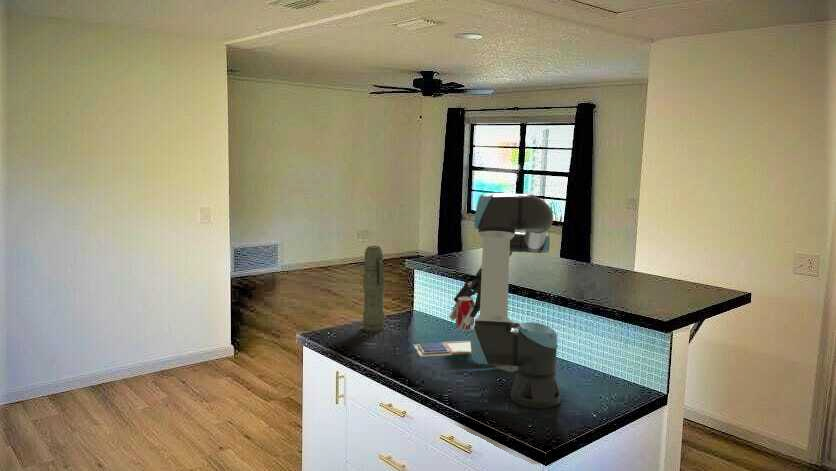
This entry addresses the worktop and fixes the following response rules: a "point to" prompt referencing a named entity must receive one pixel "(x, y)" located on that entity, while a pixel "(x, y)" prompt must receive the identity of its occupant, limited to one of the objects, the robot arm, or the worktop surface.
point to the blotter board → (432, 354)
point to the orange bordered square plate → (458, 347)
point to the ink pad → (433, 348)
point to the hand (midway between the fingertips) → (458, 321)
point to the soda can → (463, 312)
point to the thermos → (373, 290)
